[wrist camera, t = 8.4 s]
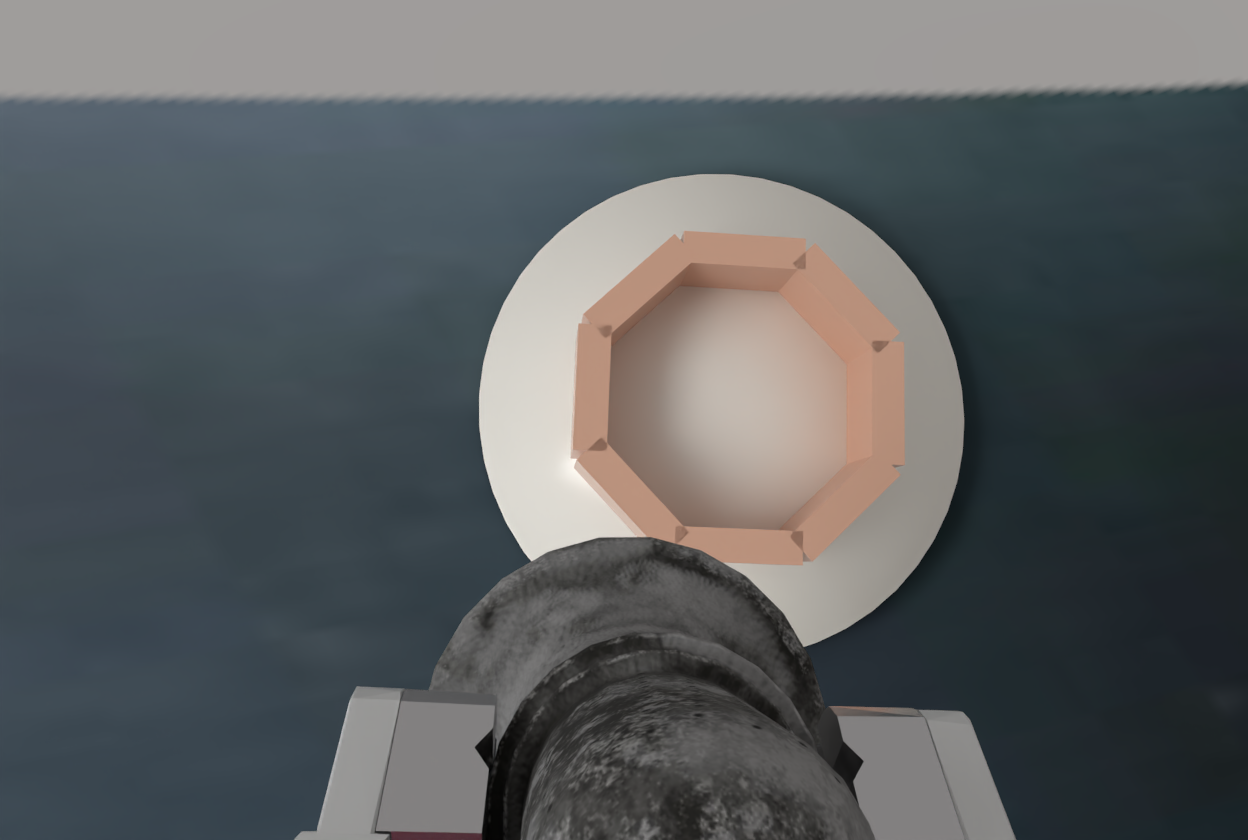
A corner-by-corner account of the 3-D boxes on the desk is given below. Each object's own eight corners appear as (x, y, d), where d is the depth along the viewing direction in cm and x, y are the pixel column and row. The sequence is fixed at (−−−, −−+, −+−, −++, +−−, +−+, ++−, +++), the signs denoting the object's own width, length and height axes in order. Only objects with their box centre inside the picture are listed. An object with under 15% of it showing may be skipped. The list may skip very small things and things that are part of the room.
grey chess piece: (693, 492, 18) (990, 345, 6) (823, 793, 17) (1442, 1293, 5) (394, 620, 17) (56, 741, 5) (519, 940, 16) (458, 1909, 5)
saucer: (466, 648, 30) (456, 660, 27) (495, 169, 33) (489, 123, 29) (955, 663, 32) (1005, 676, 28) (948, 201, 34) (994, 160, 30)
